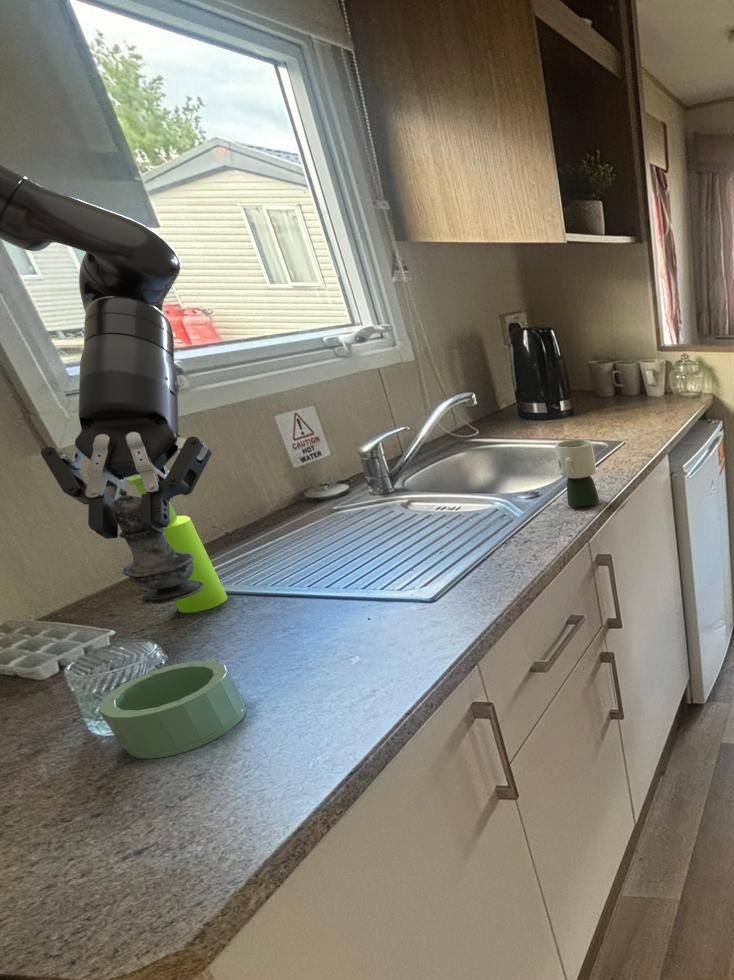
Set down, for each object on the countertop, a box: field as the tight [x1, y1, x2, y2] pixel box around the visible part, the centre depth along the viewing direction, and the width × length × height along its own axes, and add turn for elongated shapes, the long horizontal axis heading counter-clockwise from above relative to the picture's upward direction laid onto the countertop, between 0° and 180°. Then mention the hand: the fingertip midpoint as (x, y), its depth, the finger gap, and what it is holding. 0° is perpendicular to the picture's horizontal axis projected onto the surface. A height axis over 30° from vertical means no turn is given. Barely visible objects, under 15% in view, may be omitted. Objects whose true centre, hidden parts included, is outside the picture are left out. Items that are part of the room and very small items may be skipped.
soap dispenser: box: [126, 470, 228, 614], centre depth 95 cm, size 6×7×20 cm
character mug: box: [554, 438, 600, 509], centre depth 134 cm, size 11×7×13 cm, turn 0°
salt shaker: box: [110, 489, 204, 605], centre depth 70 cm, size 6×6×12 cm
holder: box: [99, 660, 247, 760], centre depth 72 cm, size 10×10×6 cm
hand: (130, 532), depth 67 cm, fingers closed on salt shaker, 3 cm apart
